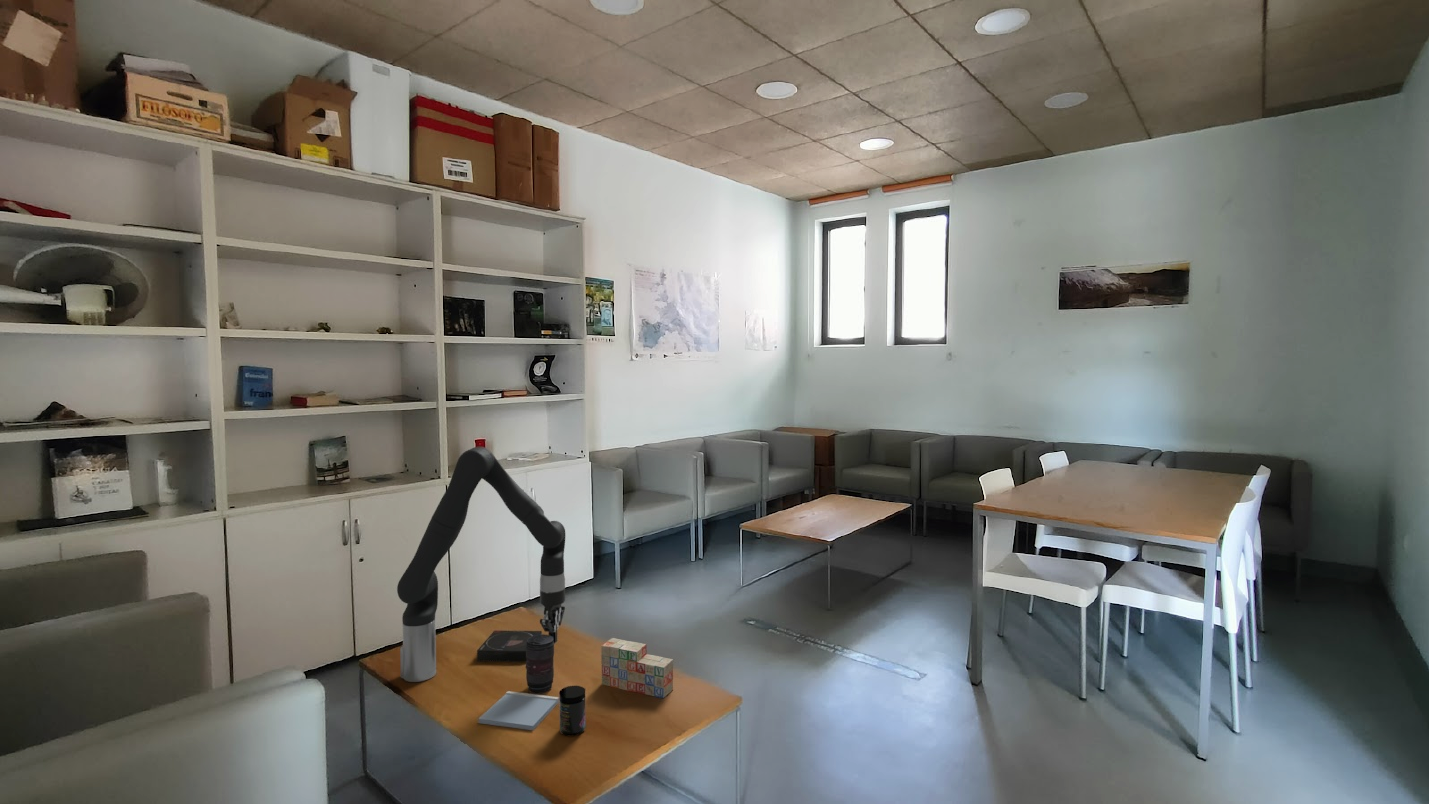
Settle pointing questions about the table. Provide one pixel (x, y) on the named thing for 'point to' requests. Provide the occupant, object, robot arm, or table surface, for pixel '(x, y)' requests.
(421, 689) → the table surface
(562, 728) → the supplement container
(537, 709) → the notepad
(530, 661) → the camera lens
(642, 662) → the stack of blocks
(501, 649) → the portable cd player
